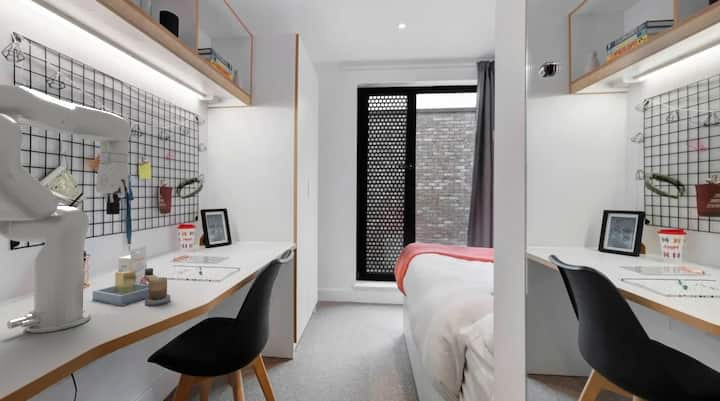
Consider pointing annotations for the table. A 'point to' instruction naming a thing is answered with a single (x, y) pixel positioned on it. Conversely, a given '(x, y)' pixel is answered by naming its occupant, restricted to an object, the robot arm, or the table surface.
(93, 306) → the table surface
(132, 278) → the yellow rectangular block
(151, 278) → the wooden mallet
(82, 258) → the robot arm
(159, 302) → the crank base
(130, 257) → the ink cartridge box
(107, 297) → the tray
